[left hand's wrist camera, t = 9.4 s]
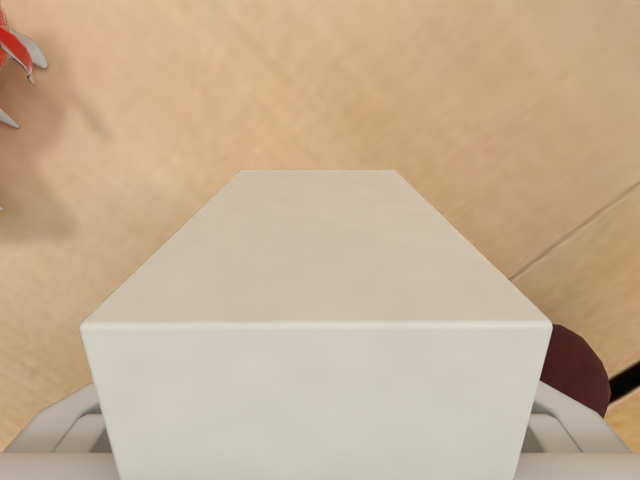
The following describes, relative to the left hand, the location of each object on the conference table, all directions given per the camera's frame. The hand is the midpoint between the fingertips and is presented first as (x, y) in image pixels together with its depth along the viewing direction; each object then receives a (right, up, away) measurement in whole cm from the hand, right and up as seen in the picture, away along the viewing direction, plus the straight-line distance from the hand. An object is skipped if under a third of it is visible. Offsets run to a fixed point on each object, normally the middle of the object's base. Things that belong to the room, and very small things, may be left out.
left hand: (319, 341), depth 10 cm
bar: (0, -8, +7) cm, 11 cm away
